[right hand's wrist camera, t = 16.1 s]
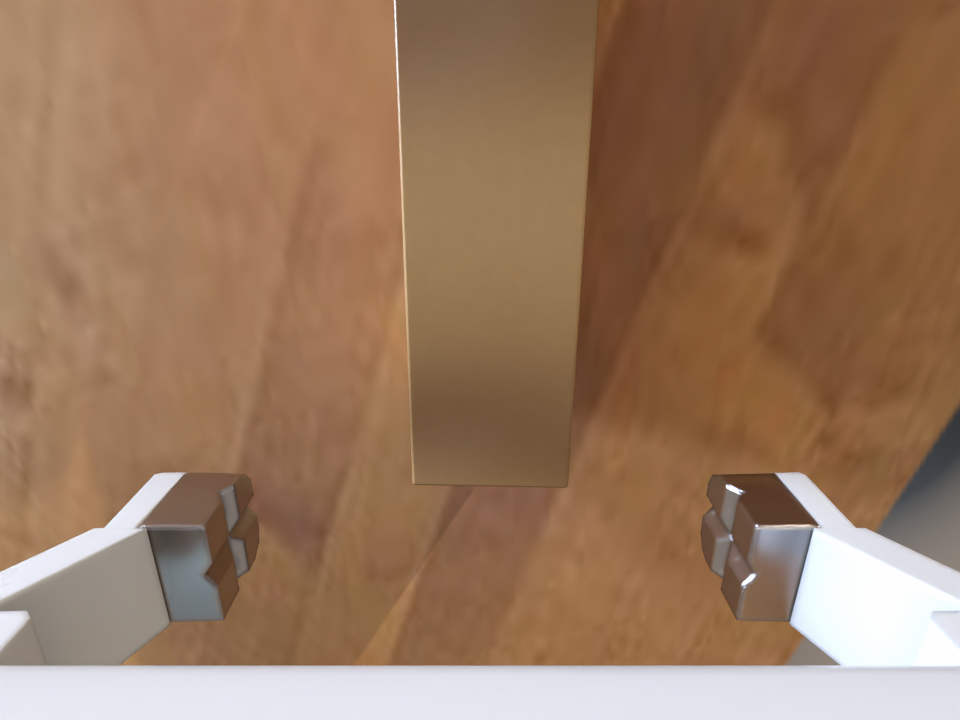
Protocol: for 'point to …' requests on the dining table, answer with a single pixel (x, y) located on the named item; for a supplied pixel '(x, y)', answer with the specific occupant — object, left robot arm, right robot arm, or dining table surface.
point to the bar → (493, 231)
